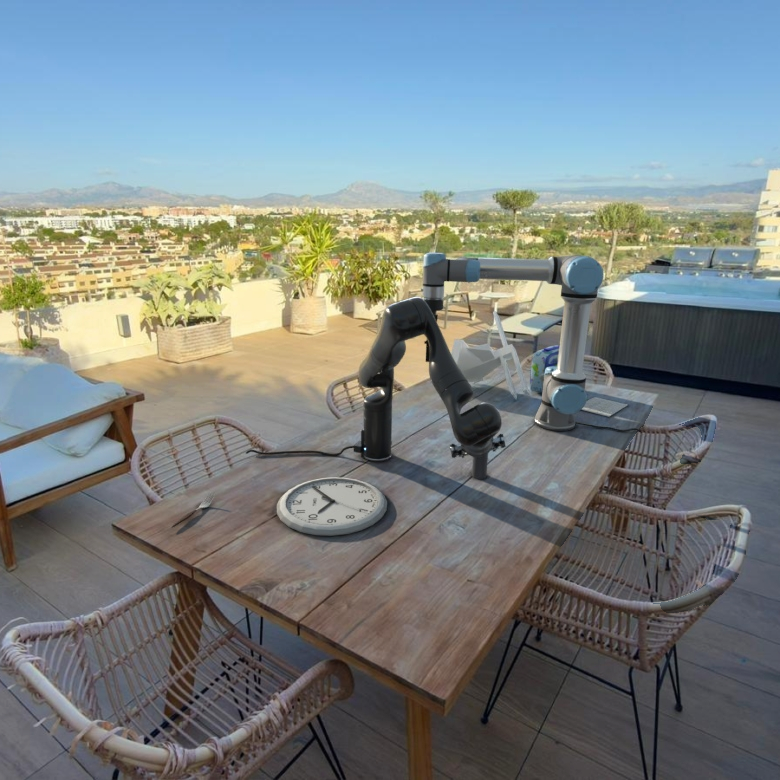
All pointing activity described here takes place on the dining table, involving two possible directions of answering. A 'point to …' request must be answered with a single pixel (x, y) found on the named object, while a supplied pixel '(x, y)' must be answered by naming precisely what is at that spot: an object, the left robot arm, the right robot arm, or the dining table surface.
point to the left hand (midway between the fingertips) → (477, 451)
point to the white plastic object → (487, 360)
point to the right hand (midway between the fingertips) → (430, 357)
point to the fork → (203, 505)
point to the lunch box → (542, 366)
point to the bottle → (479, 467)
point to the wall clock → (331, 506)
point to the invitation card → (603, 406)
